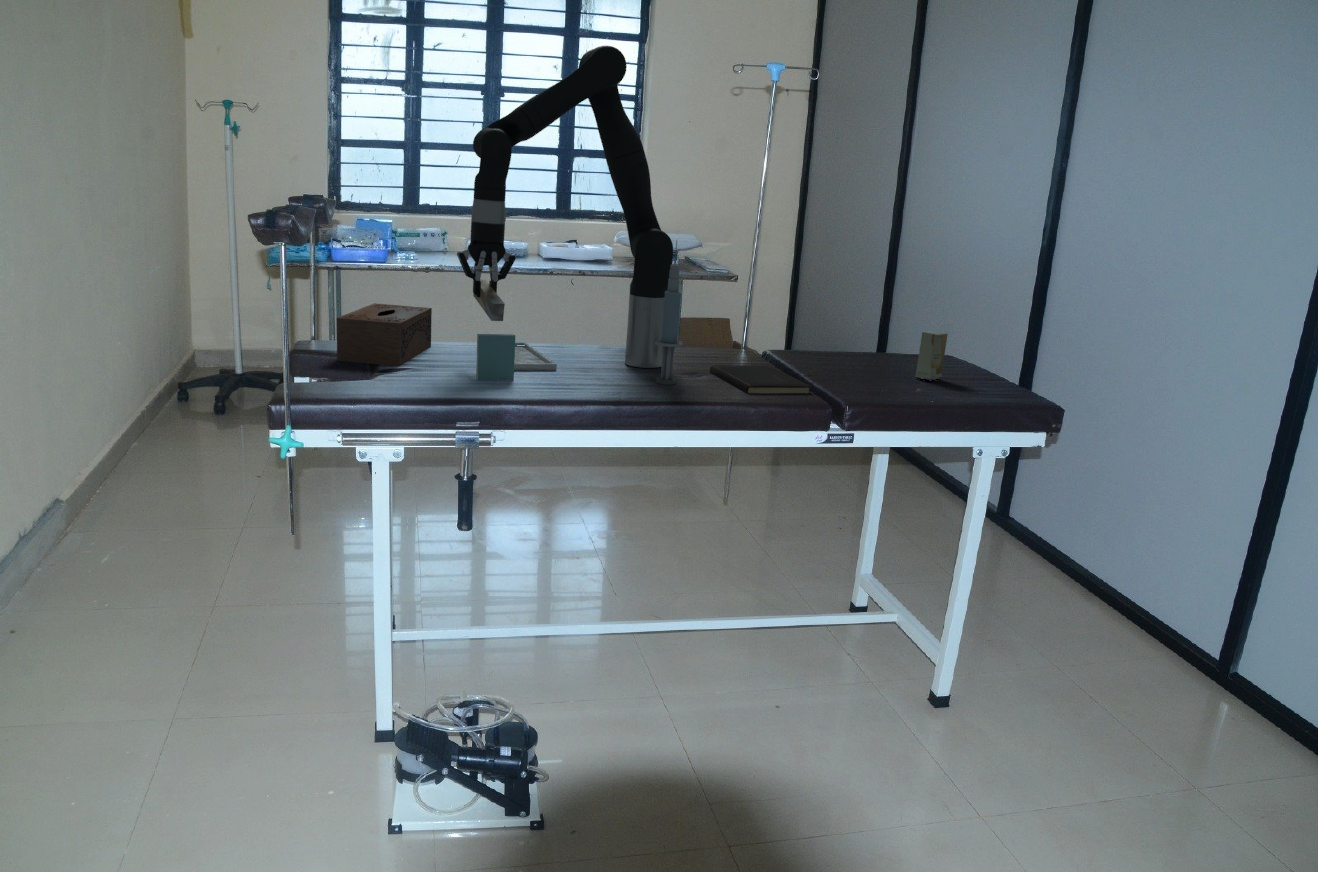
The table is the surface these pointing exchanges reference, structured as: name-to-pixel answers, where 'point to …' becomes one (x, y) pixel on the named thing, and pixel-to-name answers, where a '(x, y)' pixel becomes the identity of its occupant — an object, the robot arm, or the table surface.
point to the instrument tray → (531, 359)
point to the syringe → (670, 325)
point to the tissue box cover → (383, 334)
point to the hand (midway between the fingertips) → (484, 296)
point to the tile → (495, 357)
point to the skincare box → (931, 355)
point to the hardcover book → (759, 379)
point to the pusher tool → (490, 302)
